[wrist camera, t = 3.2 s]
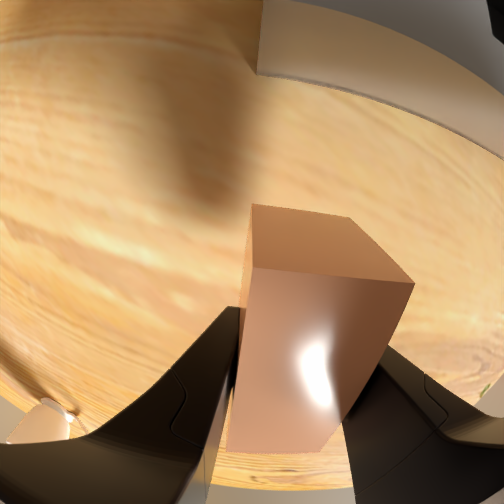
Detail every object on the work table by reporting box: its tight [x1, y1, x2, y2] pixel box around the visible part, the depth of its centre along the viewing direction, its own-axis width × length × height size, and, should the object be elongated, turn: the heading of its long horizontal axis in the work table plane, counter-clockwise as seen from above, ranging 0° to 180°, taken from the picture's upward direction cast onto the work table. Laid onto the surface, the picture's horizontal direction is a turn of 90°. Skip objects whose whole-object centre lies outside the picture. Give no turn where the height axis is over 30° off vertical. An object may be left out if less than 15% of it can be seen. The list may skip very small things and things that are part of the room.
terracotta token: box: [226, 204, 415, 454], centre depth 7 cm, size 3×6×4 cm, turn 173°
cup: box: [6, 397, 89, 444], centre depth 18 cm, size 7×10×8 cm
